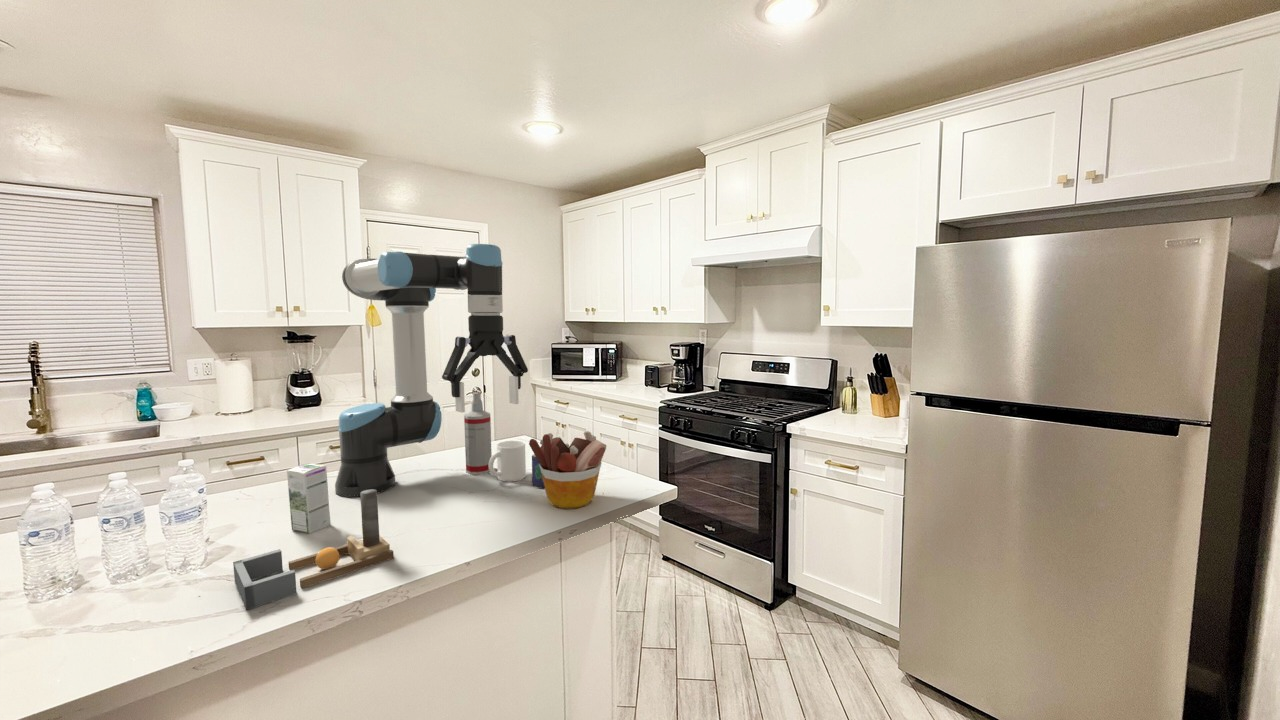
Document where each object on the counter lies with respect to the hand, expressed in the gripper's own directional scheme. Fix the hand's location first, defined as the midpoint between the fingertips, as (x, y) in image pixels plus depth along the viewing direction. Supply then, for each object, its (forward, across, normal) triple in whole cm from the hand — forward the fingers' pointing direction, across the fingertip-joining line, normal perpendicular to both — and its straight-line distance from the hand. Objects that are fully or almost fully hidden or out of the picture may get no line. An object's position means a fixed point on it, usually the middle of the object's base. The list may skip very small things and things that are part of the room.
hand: (488, 407), depth 117 cm
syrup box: (+28, -30, +29) cm, 50 cm away
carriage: (+28, -25, +5) cm, 38 cm away
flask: (+28, +24, +12) cm, 39 cm away
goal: (+28, -42, +5) cm, 51 cm away
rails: (+28, -30, +5) cm, 41 cm away
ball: (+26, -33, +5) cm, 42 cm away
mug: (+28, +20, +26) cm, 44 cm away
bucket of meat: (+28, +22, -2) cm, 36 cm away
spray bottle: (+28, +18, +39) cm, 52 cm away
